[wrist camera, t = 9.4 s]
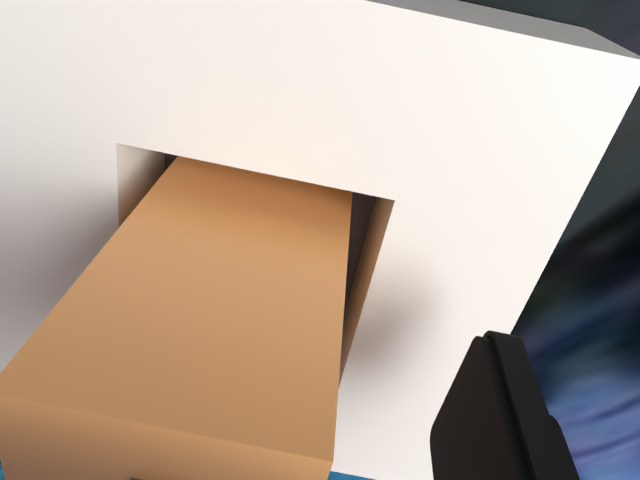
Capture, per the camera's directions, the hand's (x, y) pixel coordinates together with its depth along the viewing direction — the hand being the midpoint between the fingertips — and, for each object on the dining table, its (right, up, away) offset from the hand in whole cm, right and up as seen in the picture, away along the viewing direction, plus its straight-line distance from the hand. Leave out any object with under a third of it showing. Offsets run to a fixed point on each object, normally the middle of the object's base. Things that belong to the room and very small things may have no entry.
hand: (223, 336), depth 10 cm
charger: (0, +2, +4) cm, 5 cm away
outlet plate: (0, +3, +4) cm, 5 cm away
